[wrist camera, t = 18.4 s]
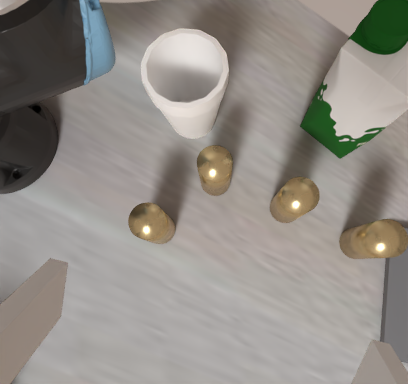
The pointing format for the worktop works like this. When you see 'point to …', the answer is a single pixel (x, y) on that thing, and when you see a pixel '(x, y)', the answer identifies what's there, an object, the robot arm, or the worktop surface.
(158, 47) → the foam cup
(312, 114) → the milk carton
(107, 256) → the worktop surface
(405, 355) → the rubber mat
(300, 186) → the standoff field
